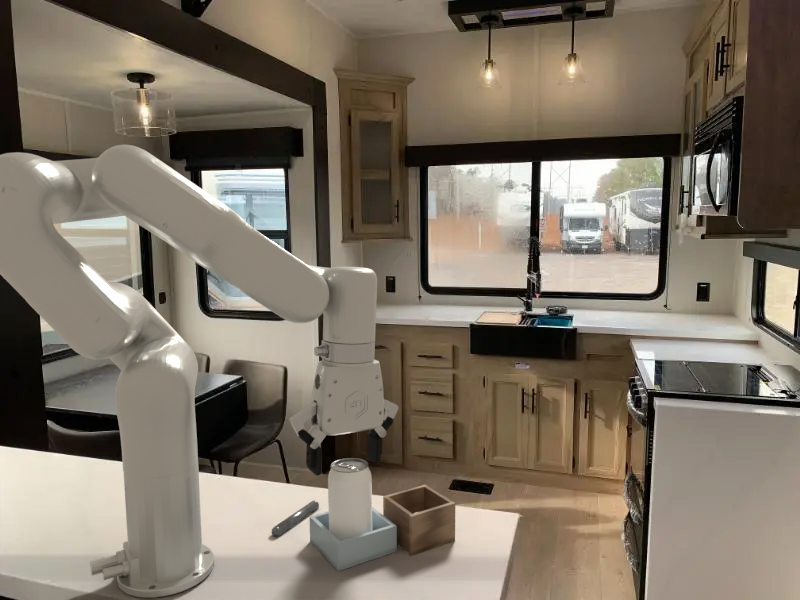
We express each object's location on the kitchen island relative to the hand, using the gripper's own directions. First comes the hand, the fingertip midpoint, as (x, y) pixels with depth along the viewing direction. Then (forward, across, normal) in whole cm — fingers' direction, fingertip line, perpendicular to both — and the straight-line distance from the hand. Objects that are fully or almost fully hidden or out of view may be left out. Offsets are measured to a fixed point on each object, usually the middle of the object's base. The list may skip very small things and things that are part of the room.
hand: (344, 466), depth 89 cm
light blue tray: (+13, +2, 0) cm, 13 cm away
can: (+12, +1, 0) cm, 12 cm away
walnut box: (+12, +12, -4) cm, 17 cm away
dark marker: (+13, -2, +12) cm, 18 cm away
